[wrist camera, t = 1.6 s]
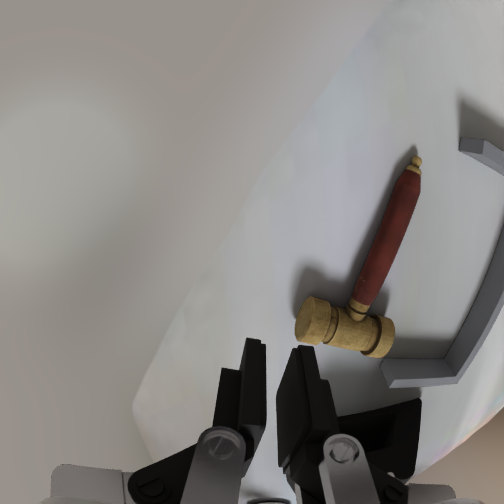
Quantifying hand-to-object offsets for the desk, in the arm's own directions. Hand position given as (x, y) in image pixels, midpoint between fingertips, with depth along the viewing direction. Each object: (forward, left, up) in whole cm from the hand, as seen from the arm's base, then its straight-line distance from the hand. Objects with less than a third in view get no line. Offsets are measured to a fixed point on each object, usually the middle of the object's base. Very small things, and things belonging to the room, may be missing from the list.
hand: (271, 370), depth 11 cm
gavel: (-11, 0, -18) cm, 21 cm away
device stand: (-22, +36, -18) cm, 45 cm away
